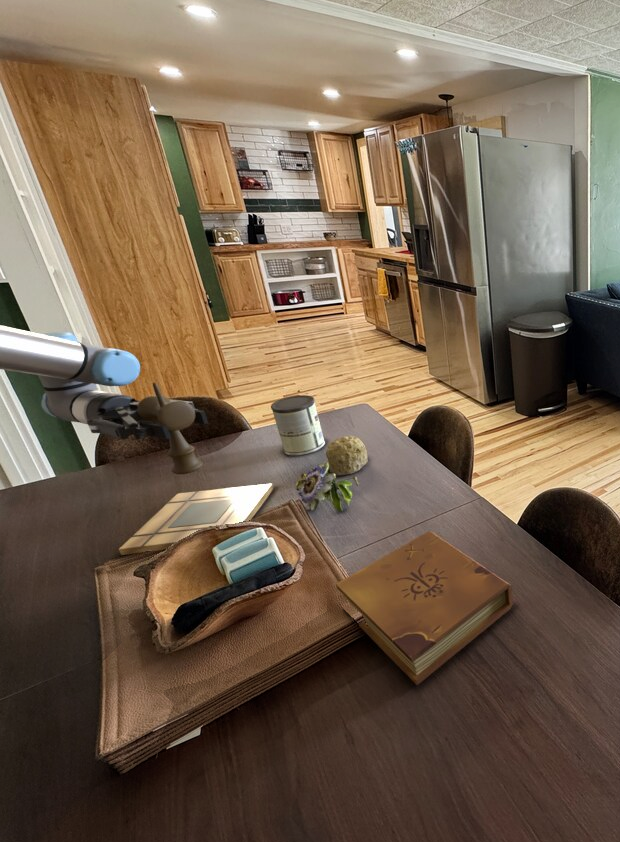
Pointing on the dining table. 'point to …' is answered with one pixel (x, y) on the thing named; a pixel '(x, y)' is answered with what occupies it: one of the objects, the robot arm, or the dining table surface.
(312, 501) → the passion flower
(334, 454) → the rock
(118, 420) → the robot arm
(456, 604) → the diary
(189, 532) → the board
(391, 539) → the dining table surface
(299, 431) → the coffee can
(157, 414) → the kendama
